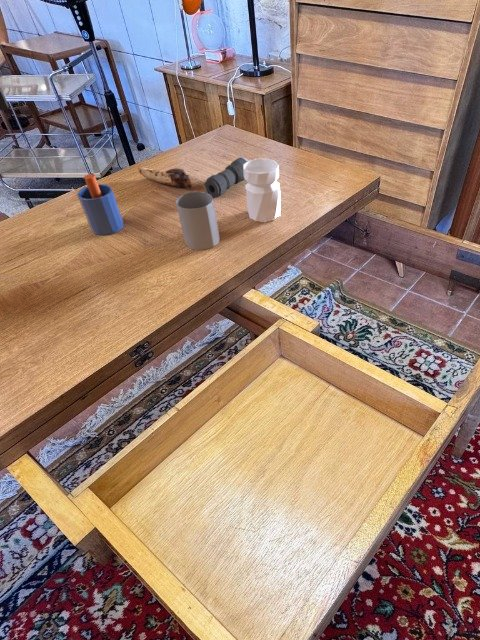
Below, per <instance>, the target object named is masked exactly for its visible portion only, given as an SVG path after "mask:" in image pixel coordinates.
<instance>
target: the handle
mask: <svg viewBox="0 0 480 640" xmlns="http://www.w3.org/2000/svg"><path fill="white" fill-rule="evenodd" d="M83 178H84V181H85V183H86V187H87V186H88V189H89V191H90V194H91V196H92V199H95V198H100V197H102V194H101V191H100V188H99V186H98V184H99V183H98V180H97V177H96V175H95V174H93V173H88V174H86V175H84V176H83Z"/></svg>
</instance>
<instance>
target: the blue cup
mask: <svg viewBox="0 0 480 640" xmlns="http://www.w3.org/2000/svg"><path fill="white" fill-rule="evenodd" d="M98 186H99V188H100V191H101V194H102V197H100V198H95V199H92V196H91V194H90V191H89V189H88V186H87V185H86V186H85V187H82V188H81V189H80V190H78V192H77V193H76V195H77V198H78V201H79V204H80V206H81V209H82V211H83V213H84V215H85V218H86V220H87V223H88V225H89V227H90V230H91V232H92V233H93V234H95V235H98V236H110V235H113V234H116V233H118V232H120V231H121V230H123V228H124V226H125V223H124V220H123V217H122V214H121V211H120V208H119V205H118V202H117V200H116V196H115V193H114V191H113V188H112V187H111V186H110V185H108V184H104V183H98Z"/></svg>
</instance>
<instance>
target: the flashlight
mask: <svg viewBox="0 0 480 640" xmlns="http://www.w3.org/2000/svg"><path fill="white" fill-rule="evenodd" d="M248 161H249V160H248V159H247V158H245V157H244V156H239V157H238V158H236V159H235V160H233V161H232V162H231V163H230V164H229V165H227V166H226V167H225V168H224V170H222V171H221V172H218V173H217V174H212V175H210V176H209V177H207V179H206V180H205V181H204V188H205V192H206V193H208V194H210V195H211V196H212V198H219V197H220V196H222V195H223V194H225V192H226V191H227V190H229V188H230V187H232V186H233V185H237V184H238V183H240V182H243V181H244V180H245V179H244V173H243V164H245V163H246V162H248Z"/></svg>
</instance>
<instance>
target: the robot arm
mask: <svg viewBox="0 0 480 640" xmlns="http://www.w3.org/2000/svg"><path fill="white" fill-rule="evenodd" d="M2 77H3V72H2V70H1V69H0V78H2ZM9 108H10V105H9V103H8V100H7V98H6V96H5V94H4V91H3V89H2V87H1V86H0V111H7V110H8V109H9Z"/></svg>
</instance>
